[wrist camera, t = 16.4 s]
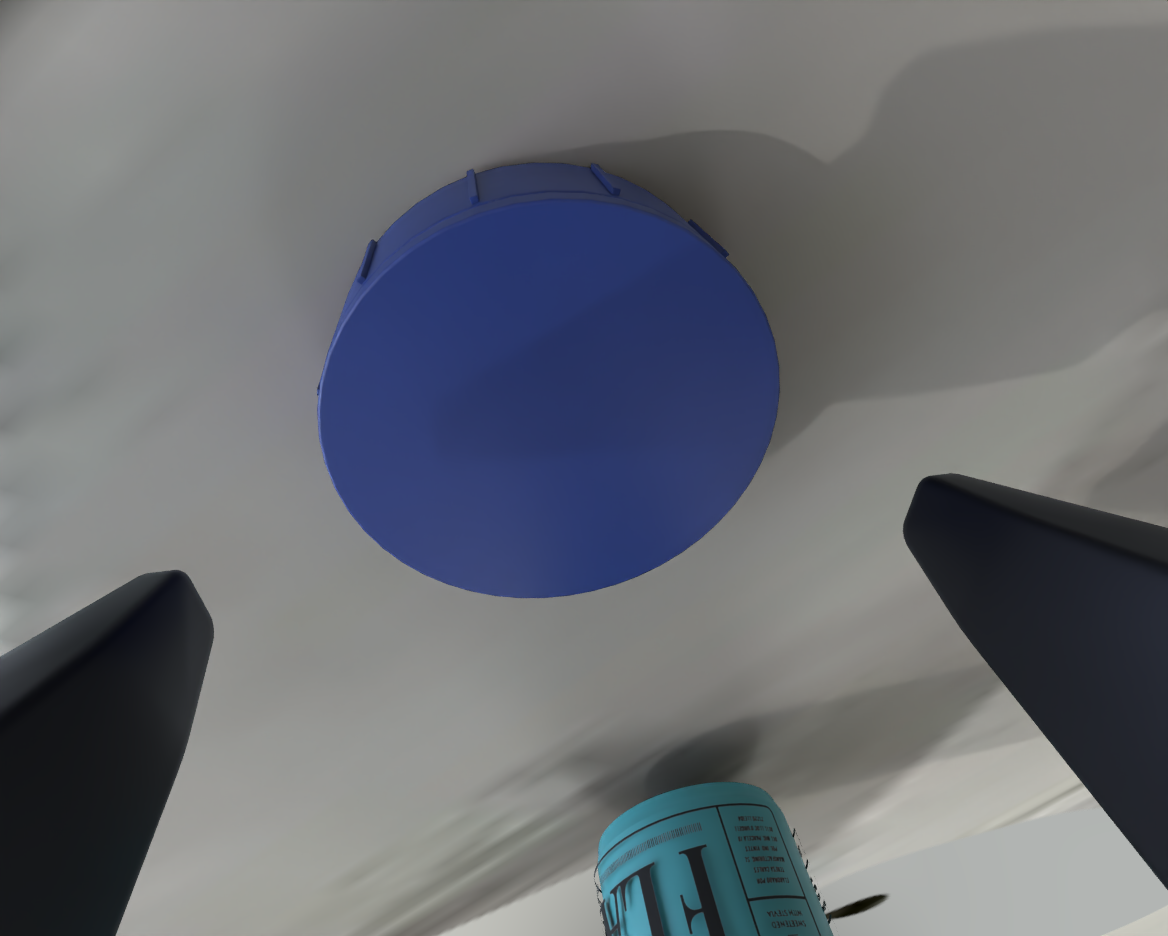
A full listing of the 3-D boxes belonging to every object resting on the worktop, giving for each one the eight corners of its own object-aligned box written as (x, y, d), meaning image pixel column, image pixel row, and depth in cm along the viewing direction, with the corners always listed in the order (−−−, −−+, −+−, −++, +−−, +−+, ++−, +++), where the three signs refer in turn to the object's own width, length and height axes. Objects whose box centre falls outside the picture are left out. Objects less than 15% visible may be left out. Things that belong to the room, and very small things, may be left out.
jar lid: (385, 538, 13) (375, 623, 11) (286, 174, 9) (245, 216, 7) (709, 498, 14) (747, 572, 12) (755, 150, 10) (823, 183, 8)
